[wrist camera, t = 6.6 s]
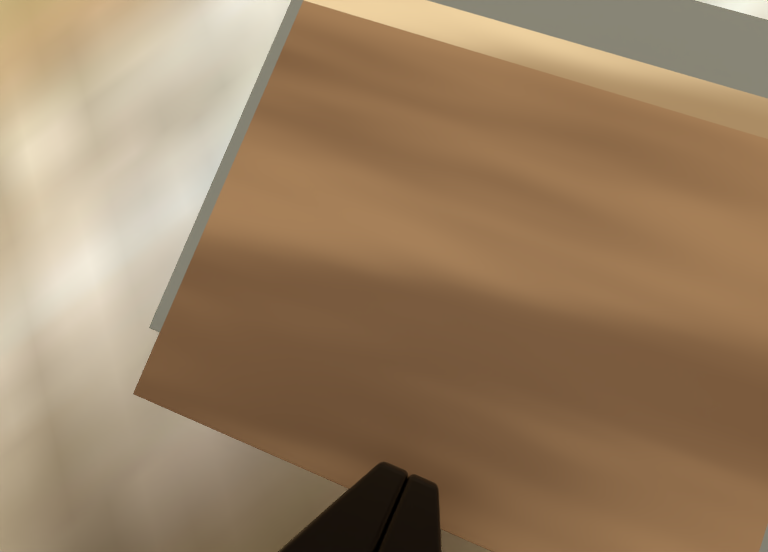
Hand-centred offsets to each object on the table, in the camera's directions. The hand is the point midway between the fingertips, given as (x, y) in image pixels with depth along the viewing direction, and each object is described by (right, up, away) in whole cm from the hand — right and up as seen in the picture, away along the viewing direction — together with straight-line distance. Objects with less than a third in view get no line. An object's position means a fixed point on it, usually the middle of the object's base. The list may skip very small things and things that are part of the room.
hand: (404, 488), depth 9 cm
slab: (0, -2, +5) cm, 6 cm away
